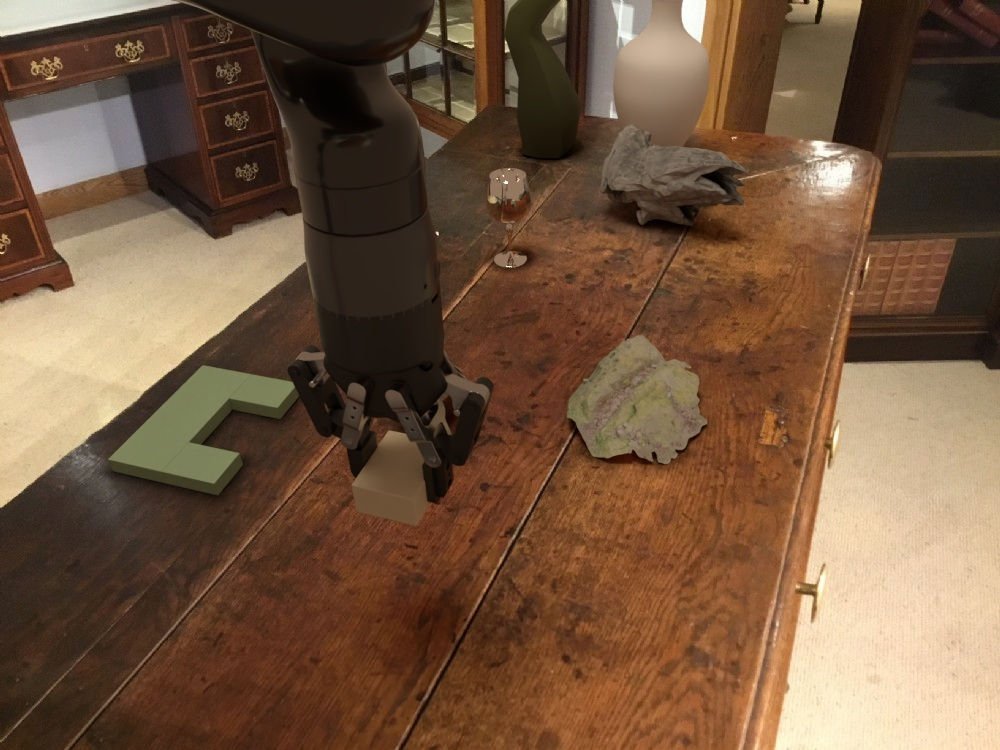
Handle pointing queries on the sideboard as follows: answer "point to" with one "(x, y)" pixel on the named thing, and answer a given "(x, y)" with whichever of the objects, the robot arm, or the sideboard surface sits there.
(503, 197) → the wineglass
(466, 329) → the sideboard surface
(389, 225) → the robot arm
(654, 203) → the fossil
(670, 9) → the vase
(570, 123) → the tentacle
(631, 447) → the mossy green rock
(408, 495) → the cream pad
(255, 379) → the green c-shaped block
